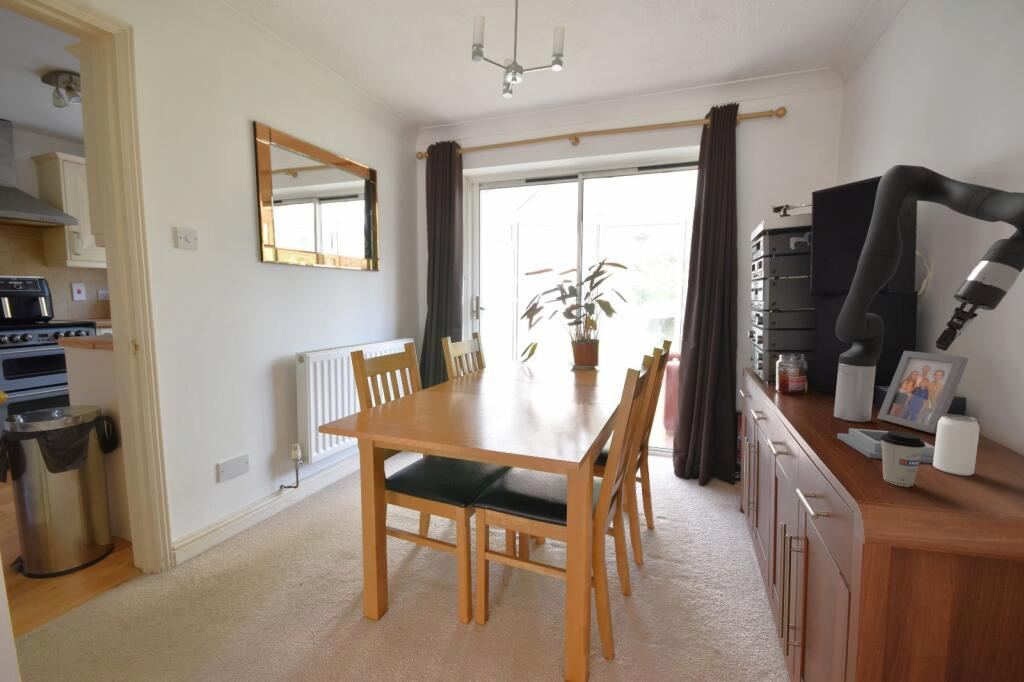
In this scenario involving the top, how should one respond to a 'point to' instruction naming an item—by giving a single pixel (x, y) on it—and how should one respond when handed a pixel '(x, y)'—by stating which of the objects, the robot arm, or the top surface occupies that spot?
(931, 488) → the top surface
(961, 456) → the can
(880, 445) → the can dock
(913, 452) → the coffee cup
